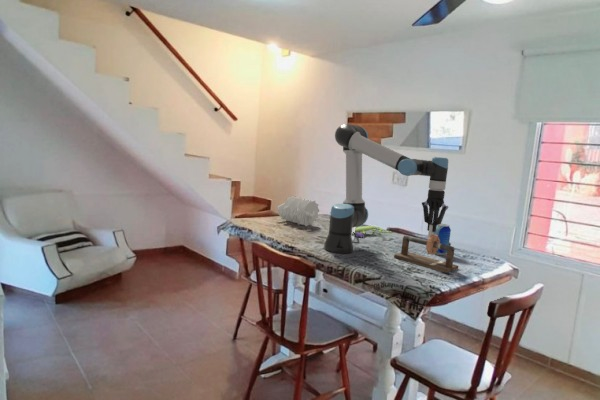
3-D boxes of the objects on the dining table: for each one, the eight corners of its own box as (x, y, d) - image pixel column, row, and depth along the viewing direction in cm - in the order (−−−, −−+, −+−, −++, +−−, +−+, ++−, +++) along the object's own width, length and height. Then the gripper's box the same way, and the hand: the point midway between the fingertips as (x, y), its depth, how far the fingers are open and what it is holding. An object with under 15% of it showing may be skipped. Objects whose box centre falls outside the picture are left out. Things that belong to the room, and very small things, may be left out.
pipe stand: (446, 272, 196) (449, 248, 195) (394, 257, 216) (396, 235, 214) (458, 268, 205) (461, 245, 203) (406, 254, 224) (409, 233, 223)
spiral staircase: (289, 225, 295) (316, 231, 277) (272, 216, 282) (299, 221, 265) (298, 201, 299) (325, 205, 281) (282, 190, 286) (309, 194, 269)
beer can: (439, 256, 227) (443, 226, 225) (427, 251, 235) (431, 223, 232) (450, 255, 231) (454, 226, 229) (439, 251, 239) (443, 223, 236)
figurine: (393, 240, 260) (394, 230, 259) (351, 238, 254) (352, 229, 253) (381, 233, 278) (382, 224, 277) (341, 231, 272) (342, 222, 271)
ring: (429, 255, 204) (431, 236, 203) (425, 254, 205) (427, 235, 204) (438, 252, 210) (440, 235, 209) (434, 251, 212) (436, 234, 210)
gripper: (453, 191, 203) (446, 240, 206) (428, 187, 212) (422, 234, 215) (445, 191, 198) (439, 241, 201) (420, 188, 207) (414, 235, 210)
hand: (430, 237), depth 208 cm, fingers closed
